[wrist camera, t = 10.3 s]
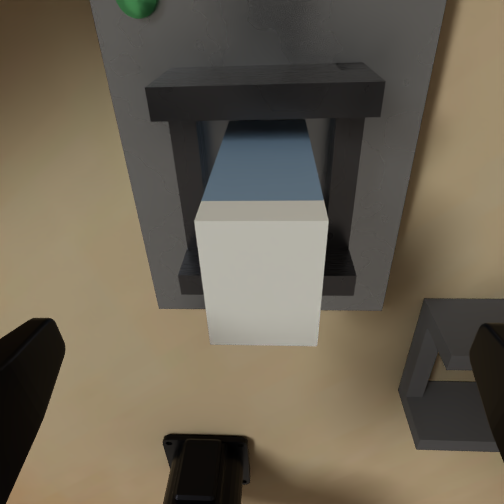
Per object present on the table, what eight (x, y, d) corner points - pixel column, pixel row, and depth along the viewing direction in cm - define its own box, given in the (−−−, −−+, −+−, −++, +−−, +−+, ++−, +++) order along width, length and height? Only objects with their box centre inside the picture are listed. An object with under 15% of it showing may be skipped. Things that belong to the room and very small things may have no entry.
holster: (507, 392, 25) (542, 453, 22) (398, 390, 26) (416, 449, 22) (557, 299, 21) (611, 358, 17) (424, 298, 21) (451, 355, 18)
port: (377, 298, 21) (399, 363, 18) (163, 296, 22) (140, 359, 18) (452, -84, 12) (528, -114, 9) (86, -65, 13) (11, -87, 9)
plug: (301, 210, 17) (316, 346, 11) (234, 210, 18) (210, 344, 11) (305, 119, 15) (328, 220, 9) (229, 121, 15) (194, 220, 9)
